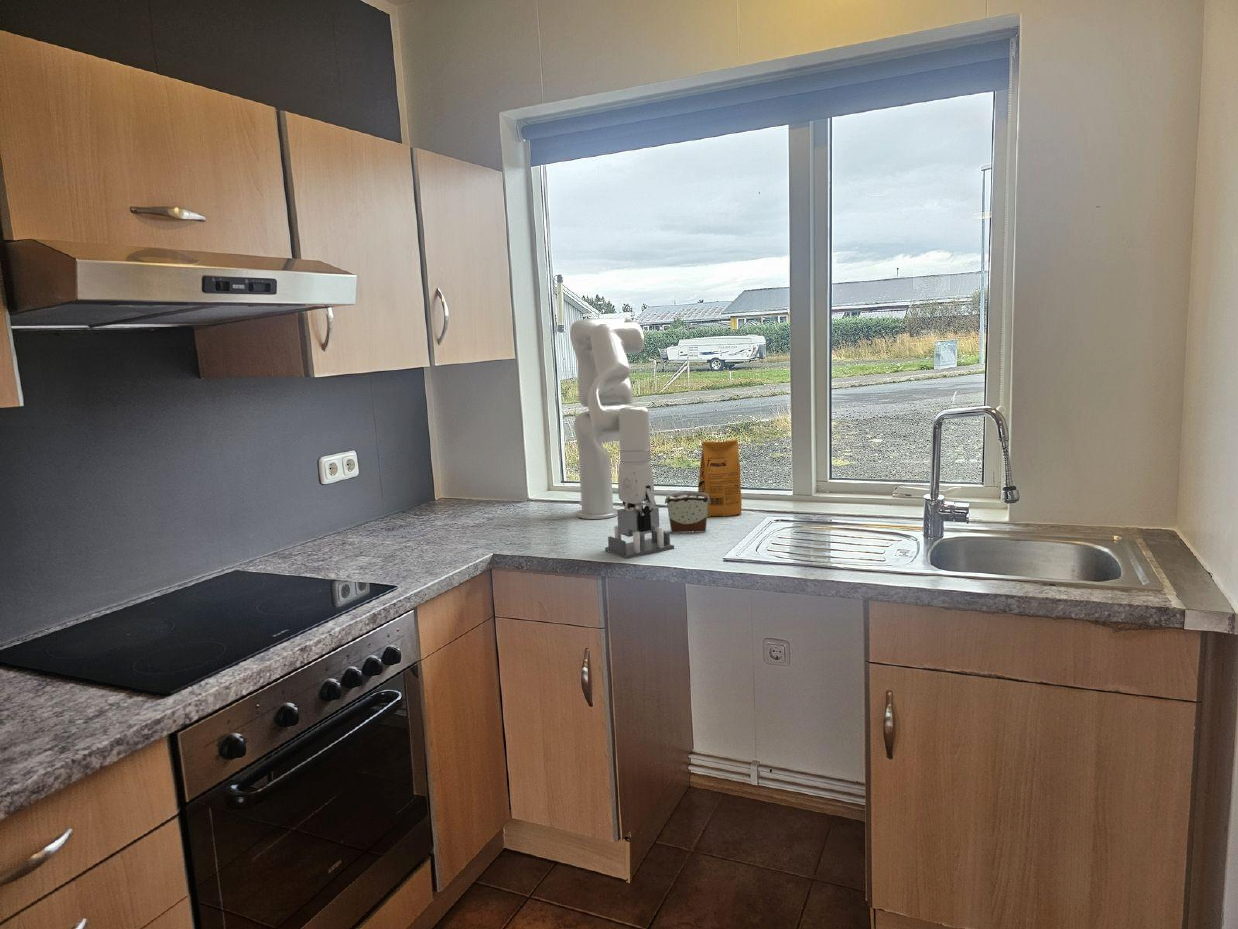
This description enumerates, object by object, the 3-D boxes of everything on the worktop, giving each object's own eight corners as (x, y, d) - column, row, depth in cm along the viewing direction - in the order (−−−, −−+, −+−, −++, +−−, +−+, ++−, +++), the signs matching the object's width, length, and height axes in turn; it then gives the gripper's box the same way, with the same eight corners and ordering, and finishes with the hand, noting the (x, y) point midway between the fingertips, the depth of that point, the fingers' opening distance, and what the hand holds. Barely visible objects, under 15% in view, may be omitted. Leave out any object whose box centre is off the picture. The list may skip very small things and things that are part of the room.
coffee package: (697, 511, 244) (695, 439, 241) (738, 509, 244) (736, 437, 241) (701, 518, 234) (698, 443, 231) (743, 516, 234) (742, 441, 231)
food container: (711, 526, 223) (710, 491, 222) (711, 531, 217) (710, 495, 216) (666, 527, 224) (665, 492, 223) (665, 532, 218) (664, 496, 217)
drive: (618, 533, 201) (617, 509, 200) (648, 527, 205) (647, 503, 204) (628, 536, 197) (627, 511, 196) (659, 531, 201) (658, 506, 200)
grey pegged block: (605, 550, 202) (603, 527, 202) (651, 541, 210) (650, 519, 209) (626, 558, 194) (625, 535, 193) (674, 548, 201) (673, 525, 200)
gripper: (604, 455, 204) (608, 526, 206) (641, 461, 189) (645, 537, 192) (629, 452, 207) (632, 521, 210) (667, 458, 193) (670, 532, 196)
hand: (638, 528), depth 201 cm, fingers closed on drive, 5 cm apart
